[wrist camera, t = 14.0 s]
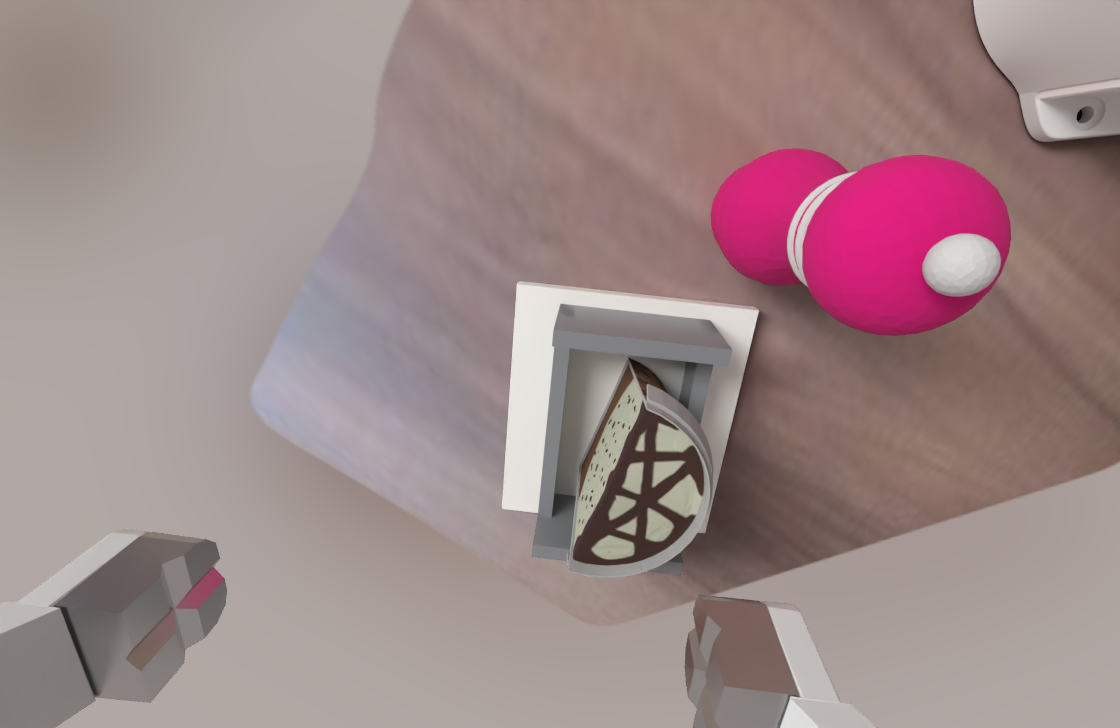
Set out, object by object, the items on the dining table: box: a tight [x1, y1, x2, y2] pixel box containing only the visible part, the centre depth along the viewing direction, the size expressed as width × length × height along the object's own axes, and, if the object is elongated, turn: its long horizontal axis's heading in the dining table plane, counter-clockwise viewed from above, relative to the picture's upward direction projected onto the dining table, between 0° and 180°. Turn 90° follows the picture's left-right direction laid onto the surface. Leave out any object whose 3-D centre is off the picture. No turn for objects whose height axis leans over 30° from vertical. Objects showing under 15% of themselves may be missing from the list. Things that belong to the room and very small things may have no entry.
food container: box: [567, 357, 713, 578], centre depth 33 cm, size 12×6×10 cm, turn 160°
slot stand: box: [502, 281, 759, 575], centre depth 35 cm, size 16×18×7 cm
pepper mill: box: [711, 148, 1011, 336], centre depth 23 cm, size 7×7×20 cm
